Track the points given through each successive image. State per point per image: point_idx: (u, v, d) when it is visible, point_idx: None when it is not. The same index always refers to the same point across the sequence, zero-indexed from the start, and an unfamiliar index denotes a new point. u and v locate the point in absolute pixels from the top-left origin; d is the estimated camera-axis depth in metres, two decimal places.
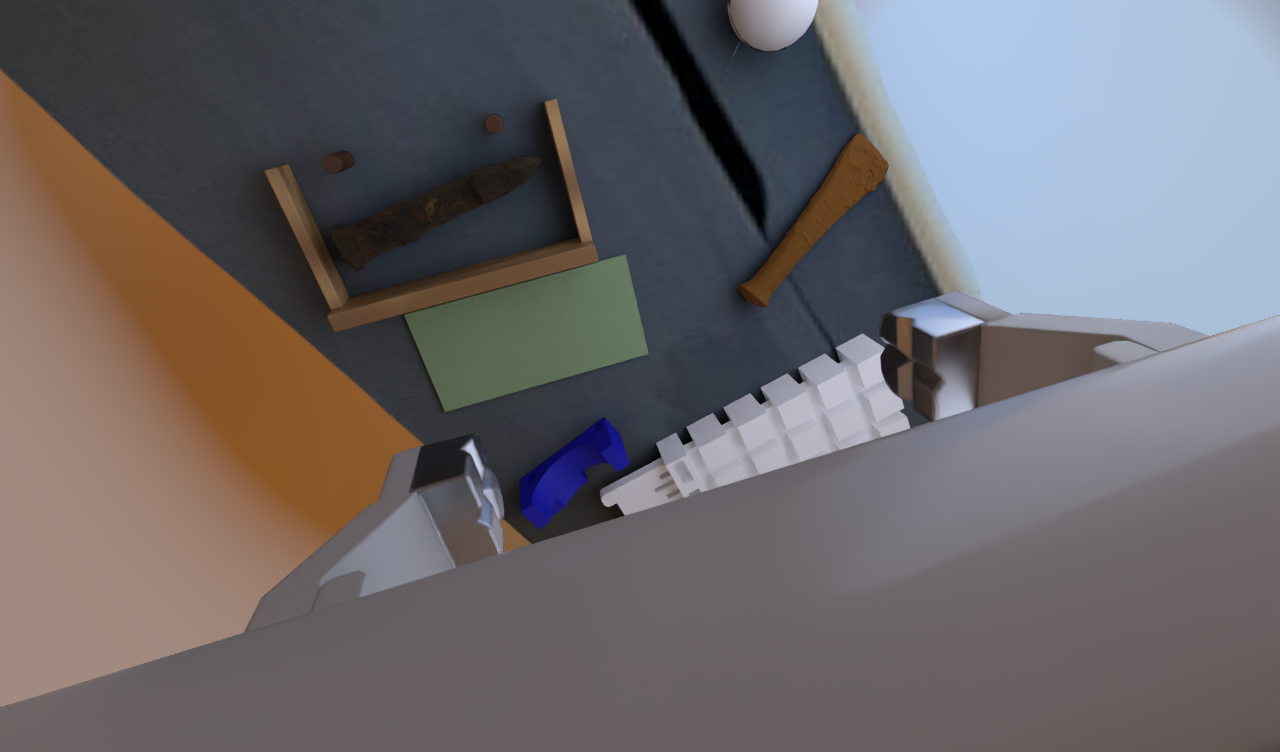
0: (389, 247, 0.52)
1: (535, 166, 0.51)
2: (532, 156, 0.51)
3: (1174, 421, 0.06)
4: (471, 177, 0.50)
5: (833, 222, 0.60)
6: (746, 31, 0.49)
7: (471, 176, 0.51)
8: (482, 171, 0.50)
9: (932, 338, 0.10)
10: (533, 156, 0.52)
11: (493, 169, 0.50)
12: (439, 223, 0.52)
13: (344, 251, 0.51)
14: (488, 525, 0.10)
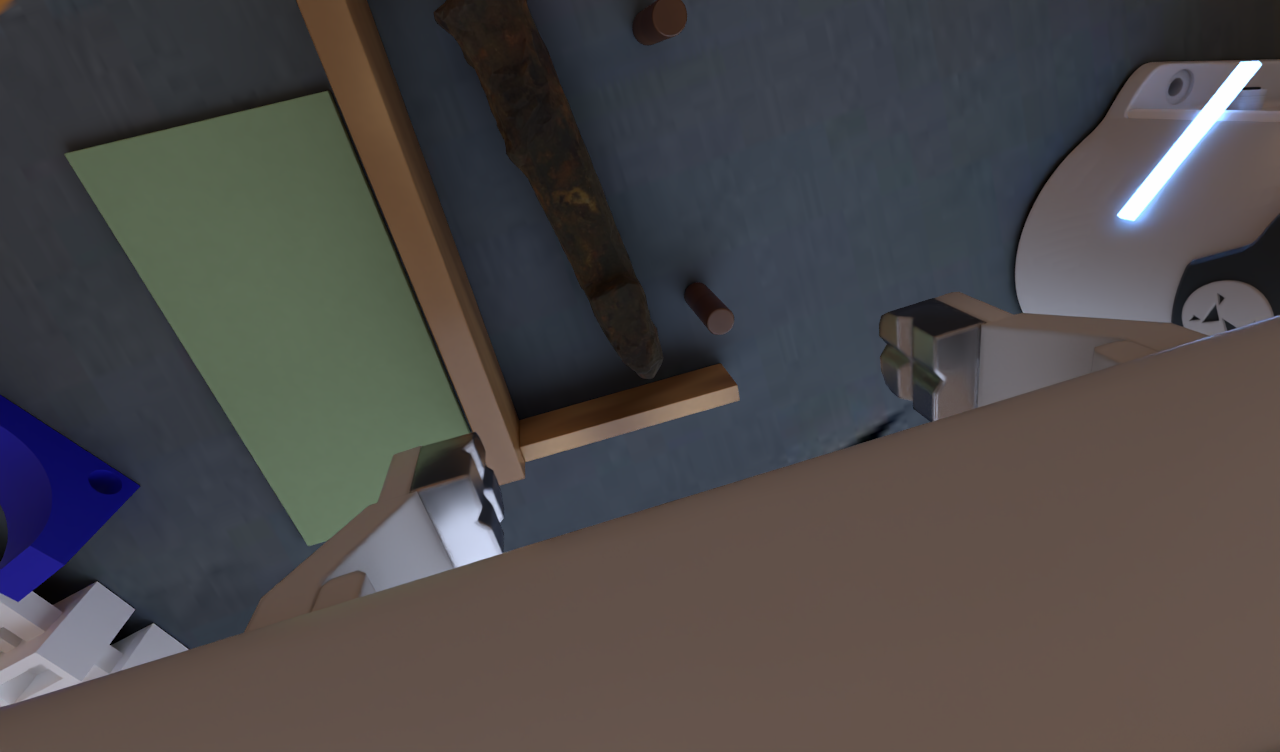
0: (493, 99, 0.24)
1: (648, 378, 0.31)
2: None
3: (1174, 421, 0.06)
4: (632, 275, 0.28)
5: None
6: None
7: (633, 275, 0.28)
8: (645, 298, 0.28)
9: (932, 338, 0.10)
10: None
11: (649, 318, 0.28)
12: (547, 209, 0.27)
13: None
14: (488, 525, 0.10)
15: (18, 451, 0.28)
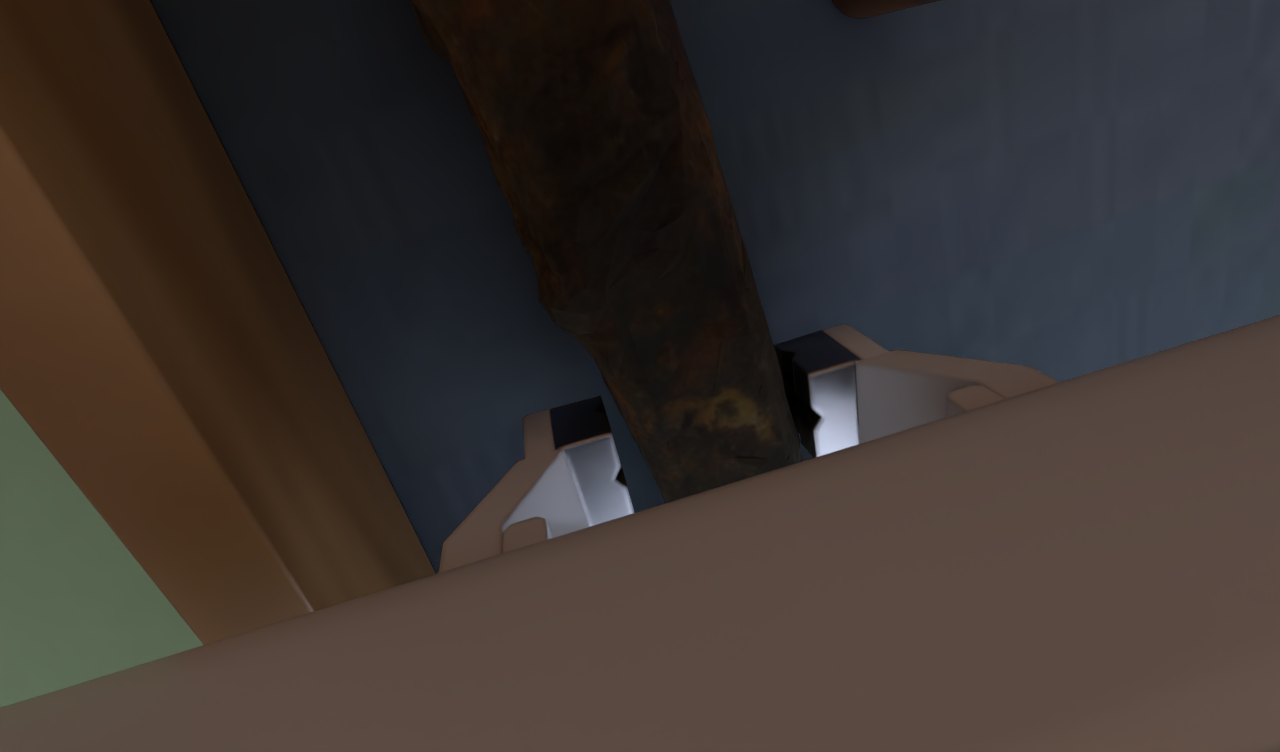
0: (509, 156, 0.08)
1: None
2: None
3: (1174, 421, 0.06)
4: None
5: None
6: None
7: None
8: None
9: (806, 375, 0.10)
10: None
11: None
12: (645, 439, 0.10)
13: None
14: (624, 484, 0.10)
15: None
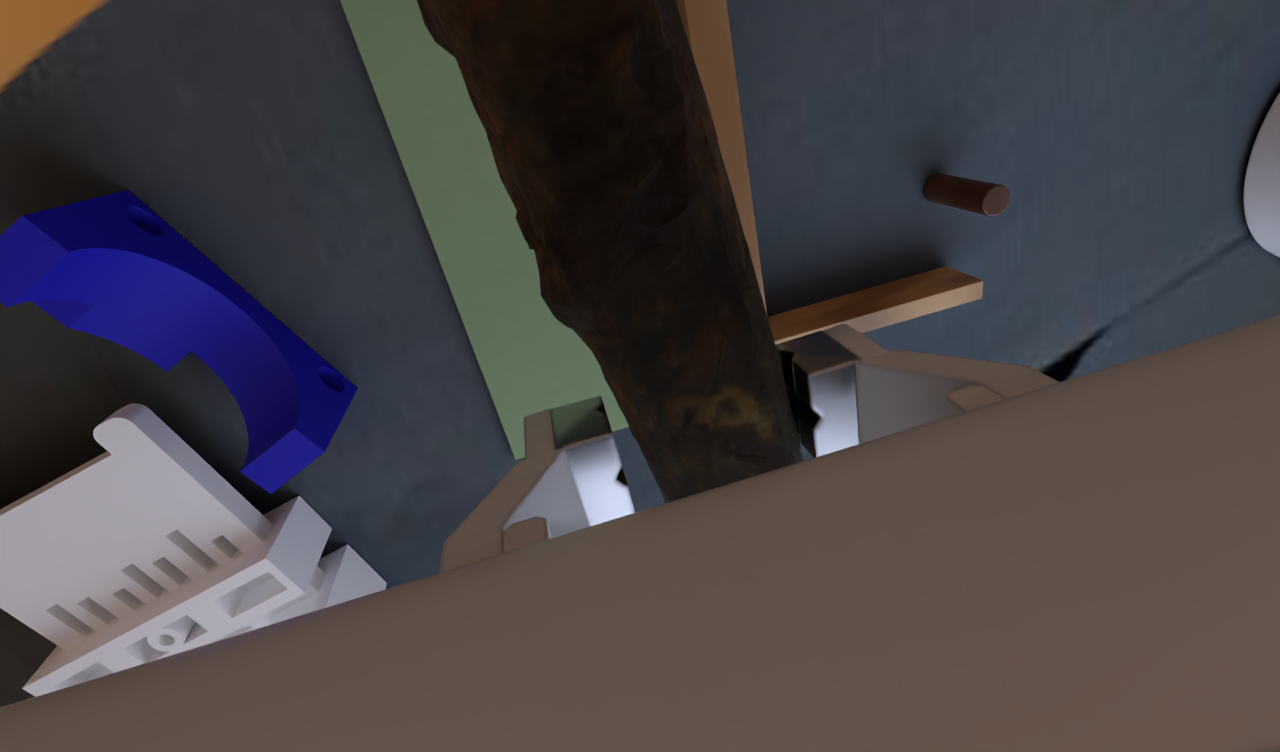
0: (512, 150, 0.08)
1: None
2: None
3: (1174, 421, 0.06)
4: None
5: None
6: None
7: None
8: None
9: (806, 375, 0.10)
10: None
11: None
12: (646, 436, 0.10)
13: None
14: (625, 484, 0.10)
15: (255, 338, 0.26)
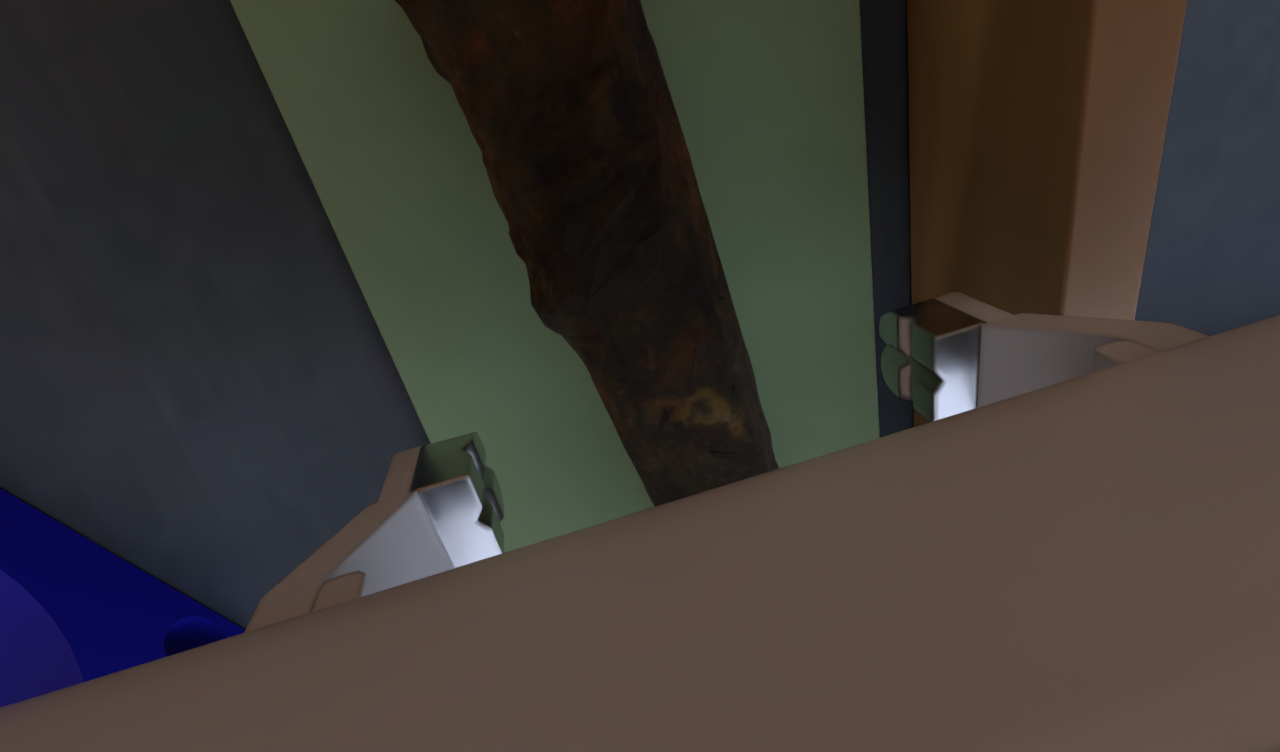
0: (504, 174, 0.09)
1: None
2: None
3: (1174, 421, 0.06)
4: None
5: None
6: None
7: None
8: None
9: (932, 337, 0.10)
10: None
11: None
12: (627, 433, 0.11)
13: None
14: (488, 525, 0.10)
15: (6, 603, 0.12)
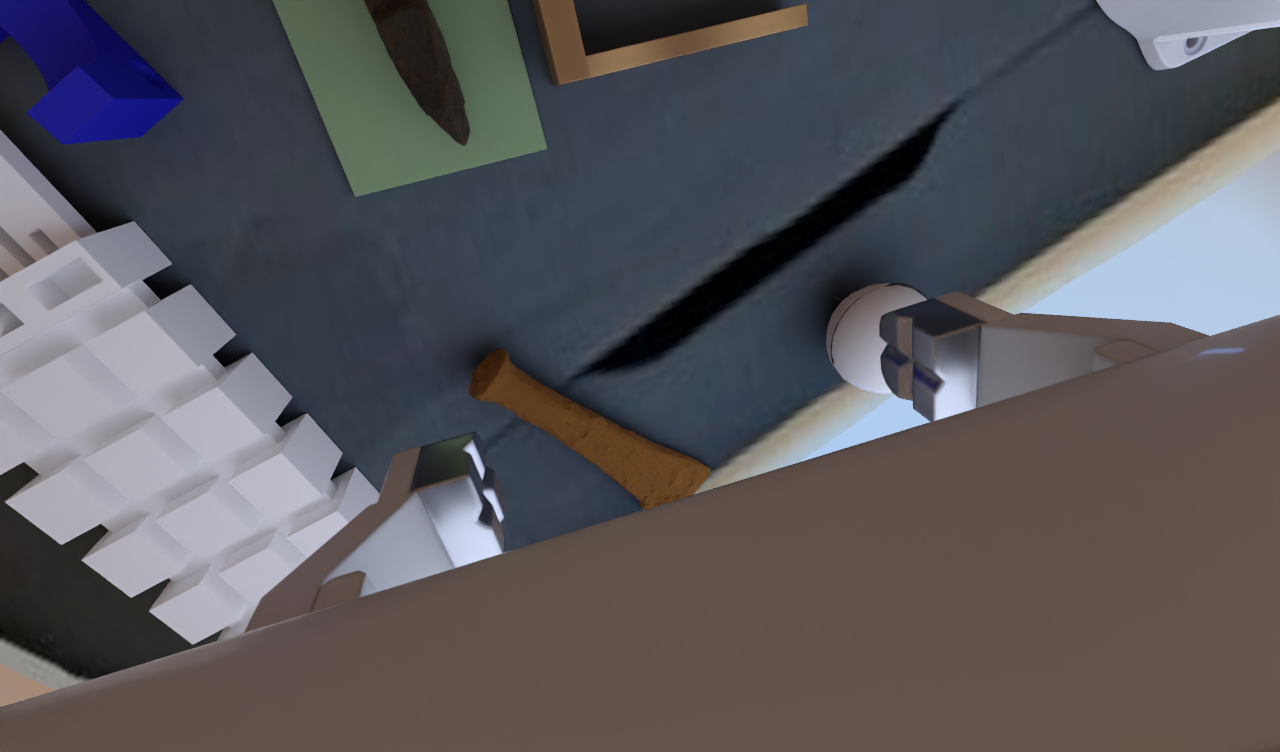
0: None
1: (451, 133, 0.30)
2: (467, 130, 0.31)
3: (1174, 421, 0.06)
4: (423, 6, 0.27)
5: (604, 468, 0.42)
6: (866, 310, 0.37)
7: (425, 7, 0.28)
8: (436, 30, 0.27)
9: (932, 338, 0.10)
10: (468, 131, 0.31)
11: (441, 53, 0.28)
12: None
13: None
14: (488, 525, 0.10)
15: (60, 10, 0.27)
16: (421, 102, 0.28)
